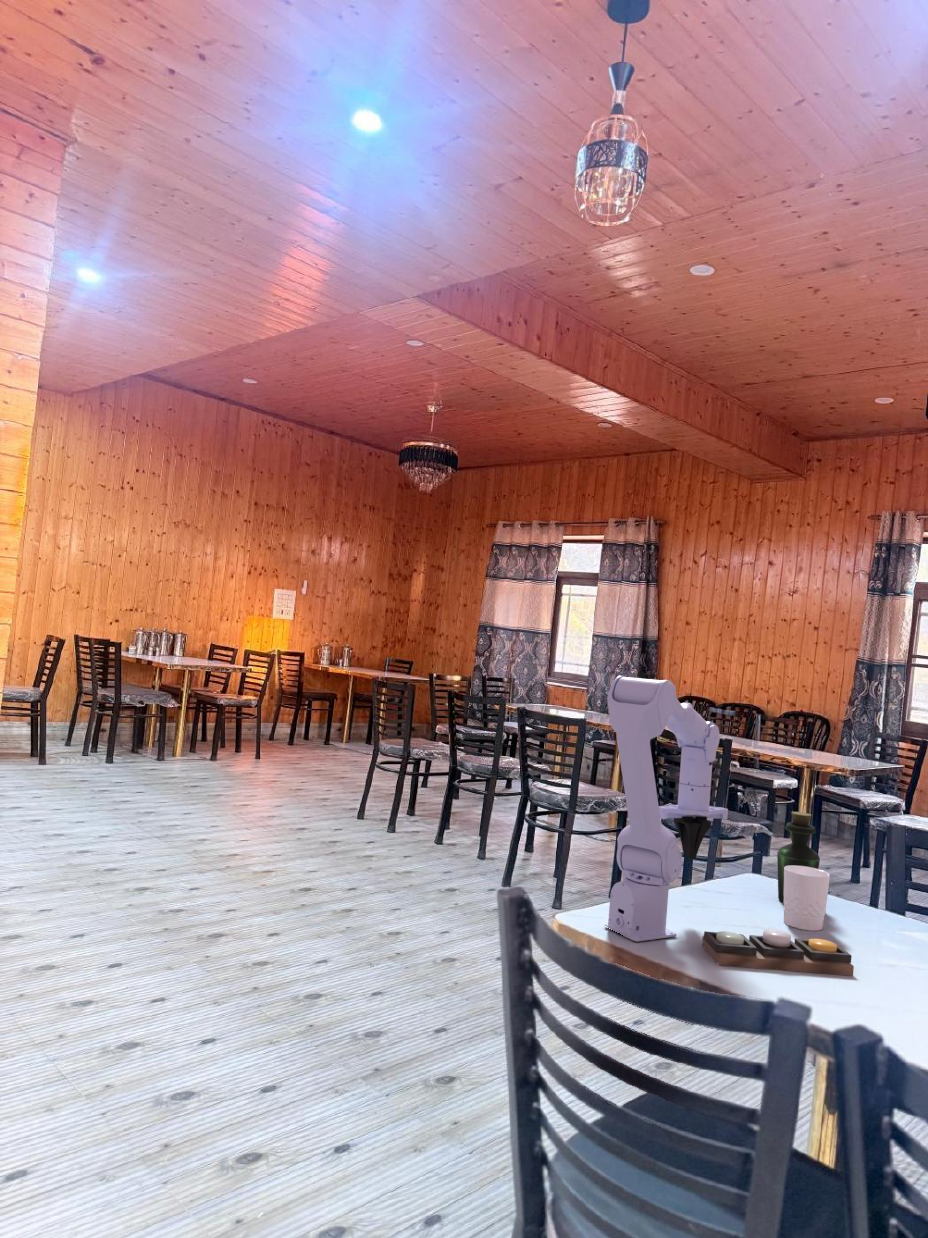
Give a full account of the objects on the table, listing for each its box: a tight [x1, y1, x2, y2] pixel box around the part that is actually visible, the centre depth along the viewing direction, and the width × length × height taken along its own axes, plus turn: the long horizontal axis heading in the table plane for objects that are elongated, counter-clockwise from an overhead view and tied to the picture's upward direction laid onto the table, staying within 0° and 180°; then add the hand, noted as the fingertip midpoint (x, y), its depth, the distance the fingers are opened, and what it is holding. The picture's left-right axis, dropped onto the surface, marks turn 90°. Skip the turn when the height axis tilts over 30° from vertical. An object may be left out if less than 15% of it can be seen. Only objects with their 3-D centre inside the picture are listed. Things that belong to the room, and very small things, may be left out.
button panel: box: [701, 931, 854, 977], centre depth 138 cm, size 21×9×3 cm, turn 91°
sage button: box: [716, 930, 744, 945], centre depth 138 cm, size 4×4×1 cm
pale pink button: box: [762, 928, 792, 947], centre depth 138 cm, size 4×4×1 cm
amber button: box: [808, 938, 838, 953], centre depth 138 cm, size 4×4×1 cm
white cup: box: [783, 865, 831, 932], centre depth 159 cm, size 8×8×10 cm
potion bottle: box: [776, 811, 821, 904], centre depth 175 cm, size 8×8×18 cm
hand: (689, 857), depth 160 cm, fingers closed
